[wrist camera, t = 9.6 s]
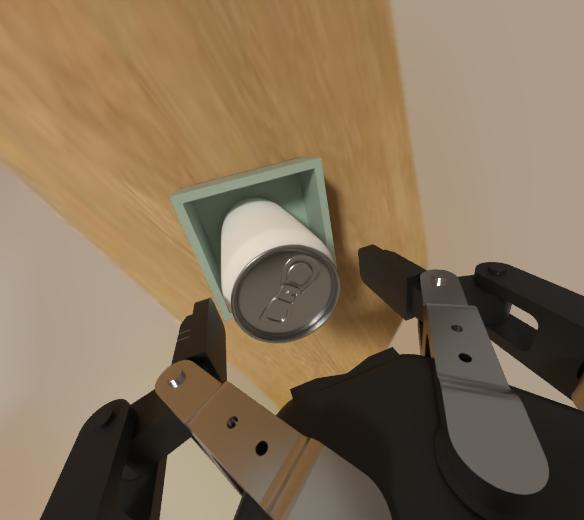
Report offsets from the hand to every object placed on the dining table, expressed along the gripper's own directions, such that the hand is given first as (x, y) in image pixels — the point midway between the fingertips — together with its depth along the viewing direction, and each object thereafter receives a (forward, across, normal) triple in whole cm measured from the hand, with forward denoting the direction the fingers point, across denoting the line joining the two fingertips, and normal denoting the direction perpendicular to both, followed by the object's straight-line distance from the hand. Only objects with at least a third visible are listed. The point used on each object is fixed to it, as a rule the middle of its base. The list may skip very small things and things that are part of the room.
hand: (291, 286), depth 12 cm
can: (+11, 0, 0) cm, 11 cm away
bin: (+12, 0, 0) cm, 12 cm away
